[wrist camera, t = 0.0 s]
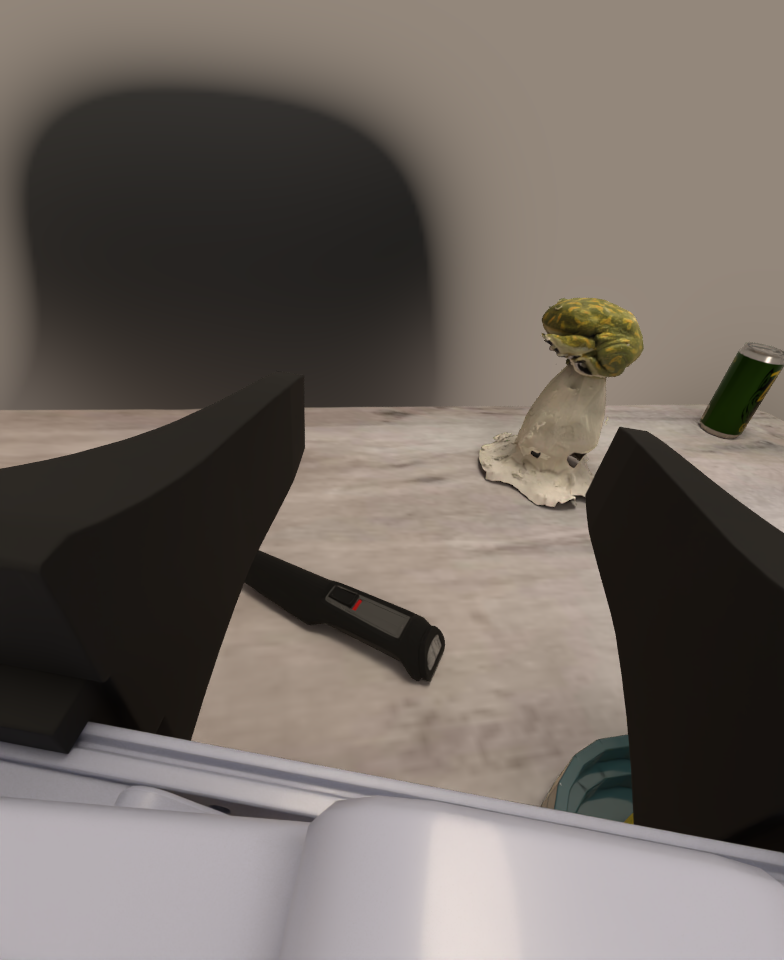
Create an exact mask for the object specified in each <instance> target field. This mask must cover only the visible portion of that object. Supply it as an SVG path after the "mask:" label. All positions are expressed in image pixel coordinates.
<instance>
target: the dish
mask: <svg viewBox="0 0 784 960" xmlns="http://www.w3.org/2000/svg"><path fill="white" fill-rule="evenodd" d="M541 807H543V808H549V809H554V810H559V811H565V812H570V813H575V814H581V815H586V816H591V817H596V818H602V819H607V820H612V821H618V822H623V823H624V822H625V821H626V819H627V818H628V817H629V816H630V815H631V814H632V813H633V801H632V779H631V763H630V751H629V739H628V735H622V736H615V737H609V738H603V739H599V740H596V741H594V742H593V743H591V744H590V745H589V746H587V747H586V748H584V749H583V750H581V751H580V752H578V753H577V754H575V755H574V756H573V757H572V759H571V760H570V762H569V763H568V764H567V766H566V767H565V769H564V770H563V771H562V773H561V774H560V776H559V777H558V778H557V780H556V781H555V783H554V785H553V786H552V788H551V790H550V792H549V793H548V795H547V797H546V798H545V800H544V802H543V803H542V805H541Z"/></svg>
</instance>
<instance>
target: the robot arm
mask: <svg viewBox="0 0 784 960" xmlns="http://www.w3.org/2000/svg"><path fill="white" fill-rule="evenodd" d="M304 449H305V420H304V375H299V374H293V373H287V372H281V371H277V372H275V373H272V374H270V375H268V376H266V377H264V378H262V379H260V380H258V381H256V382H254V383H252V384H250V385H249V386H247V387H245V388H243V389H241V390H239V391H237V392H235V393H234V394H232V395H230V396H228V397H226V398H224V399H222V400H220V401H218V402H216V403H214V404H212V405H210V406H208V407H205V408H203V409H201V410H199V411H197V412H195V413H192V414H190V415H188V416H186V417H184V418H182V419H179V420H177V421H175V422H172V423H170V424H167V425H165V426H162V427H160V428H157V429H154V430H152V431H149V432H146V433H143V434H140V435H137V436H134V437H132V438H128V439H125V440H122V441H119V442H115V443H111V444H108V445H104V446H101V447H97V448H93V449H90V450H86V451H82V452H79V453H75V454H71V455H67V456H62V457H58V458H53V459H49V460H44V461H40V462H34V463H29V464H24V465H19V466H13V467H8V468H2V469H0V960H784V533H783V532H782V531H780V530H779V529H777V528H776V527H774V526H773V525H771V524H770V523H768V522H767V521H766V520H764V519H763V518H761V517H760V516H759V515H757V514H756V513H754V512H753V511H752V510H750V509H749V508H747V507H746V506H745V505H743V504H742V503H741V502H739V501H738V500H737V499H735V498H734V497H733V496H731V495H730V494H729V493H727V492H726V491H725V490H724V489H722V488H721V487H720V486H718V485H717V484H716V483H715V482H713V481H712V480H711V479H710V478H708V477H707V476H706V475H704V474H703V473H702V472H701V471H699V470H698V469H697V468H696V467H695V466H693V465H692V464H691V463H690V462H688V461H687V460H686V459H685V458H683V457H682V456H681V455H680V454H678V453H677V452H676V451H674V450H673V449H672V448H671V447H669V446H668V445H667V444H665V443H664V442H663V441H661V440H660V439H658V438H657V437H655V436H654V435H652V434H651V433H649V432H647V431H642V430H636V429H630V428H624V427H619V429H618V431H617V433H616V435H615V437H614V439H613V441H612V443H611V445H610V447H609V449H608V451H607V453H606V454H605V456H604V458H603V460H602V462H601V464H600V466H599V468H598V470H597V472H596V474H595V476H594V478H593V480H592V482H591V484H590V486H589V488H588V490H587V492H586V494H585V499H586V511H587V521H588V529H589V534H590V538H591V542H592V546H593V550H594V554H595V558H596V561H597V565H598V569H599V572H600V576H601V580H602V583H603V587H604V590H605V594H606V598H607V601H608V605H609V609H610V612H611V616H612V621H613V625H614V630H615V634H616V640H617V647H618V654H619V661H620V667H621V674H622V682H623V691H624V699H625V708H626V716H627V727H628V739H629V751H630V763H631V779H632V801H633V822H634V825H633V824H628V823H623V822H618V821H612V820H607V819H602V818H596V817H591V816H586V815H581V814H575V813H570V812H565V811H559V810H554V809H549V808H543V807H538V806H533V805H528V804H522V803H517V802H512V801H506V800H501V799H496V798H491V797H485V796H480V795H475V794H469V793H464V792H459V791H454V790H448V789H443V788H438V787H432V786H427V785H422V784H416V783H411V782H406V781H401V780H395V779H390V778H385V777H379V776H374V775H369V774H364V773H358V772H353V771H348V770H342V769H337V768H332V767H326V766H321V765H316V764H311V763H305V762H300V761H295V760H289V759H284V758H279V757H274V756H268V755H263V754H258V753H252V752H247V751H242V750H237V749H231V748H226V747H221V746H215V745H210V744H205V743H199V742H194V741H191V738H192V735H193V732H194V728H195V725H196V722H197V719H198V715H199V712H200V709H201V706H202V702H203V699H204V696H205V693H206V690H207V687H208V684H209V681H210V678H211V675H212V672H213V669H214V666H215V662H216V659H217V656H218V653H219V650H220V647H221V645H222V642H223V639H224V636H225V633H226V631H227V628H228V625H229V622H230V619H231V617H232V614H233V611H234V608H235V605H236V603H237V600H238V597H239V595H240V592H241V590H242V587H243V584H244V582H245V579H246V576H247V574H248V571H249V569H250V567H251V564H252V562H253V560H254V558H255V556H256V553H257V551H258V550H259V548H260V546H261V544H262V542H263V540H264V538H265V536H266V534H267V532H268V530H269V528H270V526H271V524H272V522H273V521H274V519H275V517H276V515H277V513H278V511H279V509H280V507H281V505H282V503H283V501H284V499H285V497H286V495H287V493H288V491H289V489H290V487H291V485H292V483H293V481H294V478H295V476H296V473H297V470H298V467H299V464H300V461H301V458H302V455H303V452H304Z"/></svg>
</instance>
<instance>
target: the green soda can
mask: <svg viewBox="0 0 784 960" xmlns="http://www.w3.org/2000/svg"><path fill="white" fill-rule="evenodd" d="M783 367H784V351H782V350H780V349H777V348H775V347H771V346H768V345H764V344H759V343H751V342H748V343H745V345H744V347H742V348H741V349H740V350H739V351H738V353H737V355H736V357H735V358H734V360H733V362H732V364H731V365H730V367H729V369H728V371H727V373H726V374H725V376H724V378H723V380H722V381H721V383H720V385H719V387H718V389H717V390H716V392H715V394H714V396H713V398H712V400H711V401H710V403H709V405H708V406H707V408H706V410H705V412H704V414H703V415H702V417H701V419H700V426H701V428H702V429H703V430H705V431H706V432H708V433H710V434H712V435H715V436H718V437H721V438H727V439H734V438H736V437H738V436H739V435H741V434H742V432H743V431H744V429H745V427H746V426H747V424H748V423H749V421H750V419H751V418H752V416H753V415H754V413H755V411H756V410H757V408H758V407H759V405H760V404H761V402H762V400H763V399H764V397H765V396H766V394H767V392H768V391H769V389H770V387H771V386H772V384H773V383H774V381H775V380H776V378H777V377H778V375H779V373H780V371H781V370H782V368H783Z"/></svg>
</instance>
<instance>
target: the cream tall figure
mask: <svg viewBox="0 0 784 960" xmlns="http://www.w3.org/2000/svg"><path fill="white" fill-rule="evenodd" d="M549 308H550V309H548V310H547V311H546V312H545V314H544V315H543V318H542V323H543V326H544V329H545V330H546V332H547V335H545V334H543V333H542V337H543V338H544V339H545V340H544V341H545V342H547V343H549V344H550V345H551V346H550V348H549V349H550V350H551V351H555V352H556V353H557V356H558V357H565V358H567V360H566V364H567V366H566V367H565V368H564V369H563V370H562V371H561V372H560V373H559V374H557V375H556V376H555V377H554V378H553V379H552V380H551V381H550V383H549V384H548V385H547V386H546V387H545V389H544V390H543V391H542V393H541V394H540V395H539V397H538V398H537V399H536V401H535V402H534V404H533V405H532V407H531V408H530V410H529V412H528V413H527V415H526V417H525V420H524V422H523V425H522V427H521V429H520V430H519V433H518V435H513V436H511V435H512V434H510V433H509V434H508V433H507V432H505V433H504V434H499V435H497V436H495V437H494V438H493V439H494V440H497V441H495V442H494V443H492V444H485V445H483V446H482V447H481V450H480V452H479V460H480V463H481V464H482V468H483V469H484V470H485V471H486V479H490V480H492V481H496V480H497V481H502V482H503V483H506V482H507V483H510V484H512V485H513V486H514V487H516V488H518V489H519V490H520V492H521V493H523V494H524V495H526V496H527V497H528V499H529V500H531V501H533V503H535V504H536V505H544V504H545V505H546V506H550V507H552V506H553V507H555V505H556V503H558V502H560V503H561V504H562V503H565V502H567V501H568V500H571V499H574V501H575V499H576V497H575V496H573V495H582V496H584V497H585V494H586V492H587V490H588V488H589V486H590V484H591V482H592V480H593V478H594V475H593V474H592V473H591V472H590V470H589V468H588V466H587V461H588V460H589V459H588V456H587V453H589V452H590V451H592V450H593V449H594V448H595V447H596V446H597V444H598V440H599V438H600V433H601V429H602V425H603V420H604V416H605V406H606V377H616V376H619V375H620V374H622V373H623V371H624V369H625V368H626V367H628V366H629V365H630V364H632V363H633V362H634V361H635V360H636V359H637V358H638V357H639V356H640V355H641V353H642V351H643V340H642V338H643V337H642V334H641V331H640V328H639V325H638V323H637V320H636V318H635V317H634V315H633V314H632V313H631V312H629V311H627V310H625V309H623V308H621V307H619V306H617V305H615V304H613V303H610V302H608V301H606V300H602V299H596V298H573V299H569V300H567V299H564V298H563V299H560V300H559V301H558V302H557V304H556V305H554V306H552V307H549ZM608 419H609V418H608V417H607V420H606V422H607V421H608ZM606 422H604V423H606ZM605 425H607V423H606V424H605ZM603 426H604V425H603ZM531 451H534V452H536V453H539V452H541V455H540V456H539V458H538V459H537V458H536V457H534V456H533V455H531ZM568 456H573V457H574V458H576V459H577V460H578V461H579V463H578V464H577V465H576V467H575V468H572V467H570V466H569V464H568V462H567V458H568ZM575 503H576V502H575ZM576 505H577V504H576Z"/></svg>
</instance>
